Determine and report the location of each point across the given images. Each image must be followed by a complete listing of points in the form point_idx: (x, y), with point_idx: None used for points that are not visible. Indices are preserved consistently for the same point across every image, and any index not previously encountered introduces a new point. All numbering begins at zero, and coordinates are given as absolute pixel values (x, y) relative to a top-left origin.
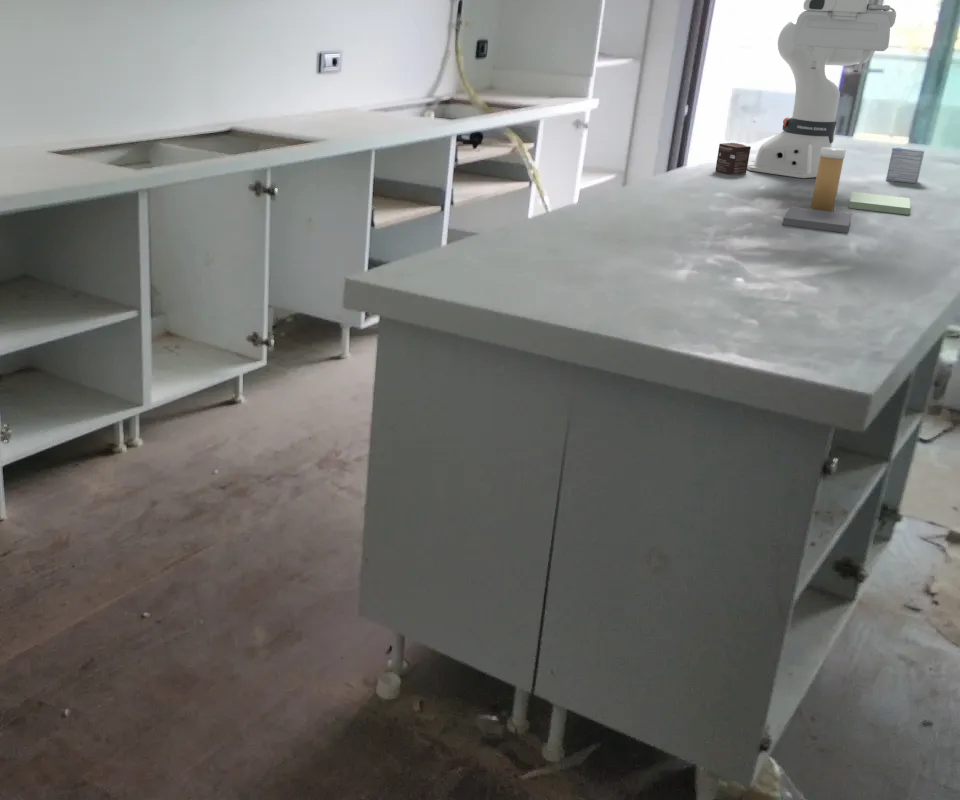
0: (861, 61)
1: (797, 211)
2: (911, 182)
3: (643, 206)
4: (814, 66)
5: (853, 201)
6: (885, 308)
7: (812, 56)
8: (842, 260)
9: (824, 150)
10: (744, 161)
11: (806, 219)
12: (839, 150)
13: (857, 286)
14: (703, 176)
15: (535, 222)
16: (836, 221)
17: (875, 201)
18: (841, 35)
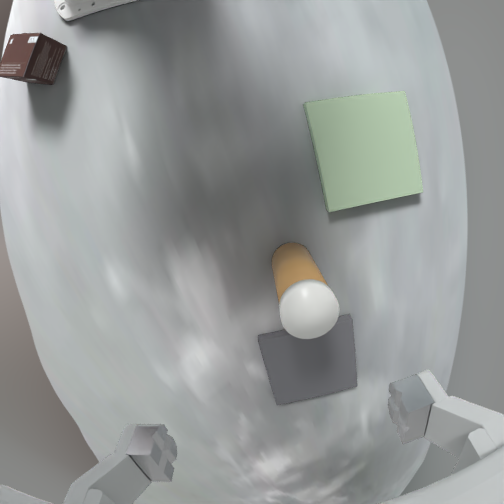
0: (440, 443)
1: (279, 363)
2: None
3: (113, 411)
4: (169, 458)
5: (335, 209)
6: (383, 493)
7: (115, 474)
8: (358, 455)
9: (294, 335)
10: (51, 51)
11: (304, 394)
12: (326, 319)
13: (370, 483)
14: (29, 146)
15: None
16: (340, 377)
17: (367, 174)
18: None
